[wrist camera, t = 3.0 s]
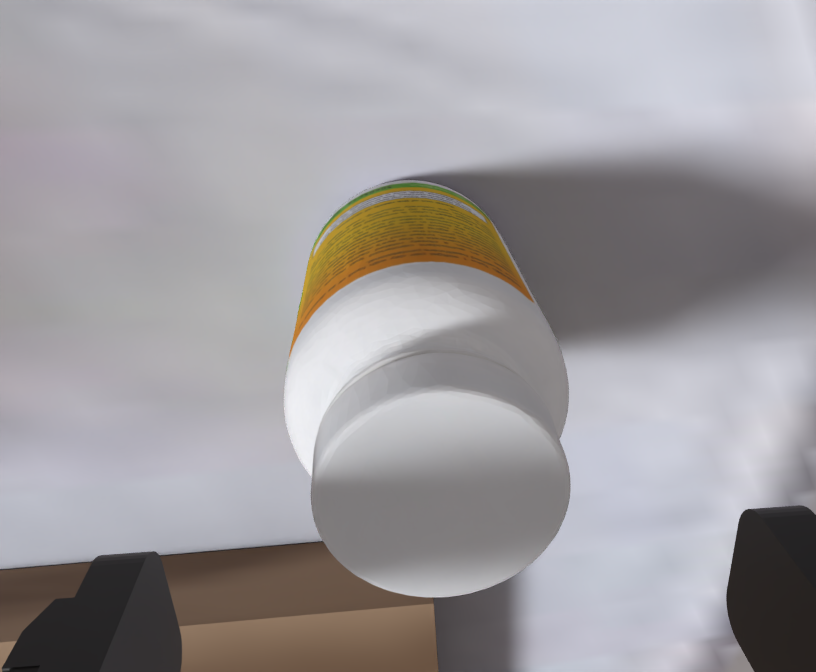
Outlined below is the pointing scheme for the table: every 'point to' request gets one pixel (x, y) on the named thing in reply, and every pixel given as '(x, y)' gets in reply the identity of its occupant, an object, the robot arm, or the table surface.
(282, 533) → the table surface
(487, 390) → the supplement bottle
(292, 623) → the walnut bottle holder
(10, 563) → the table surface
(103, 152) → the table surface
